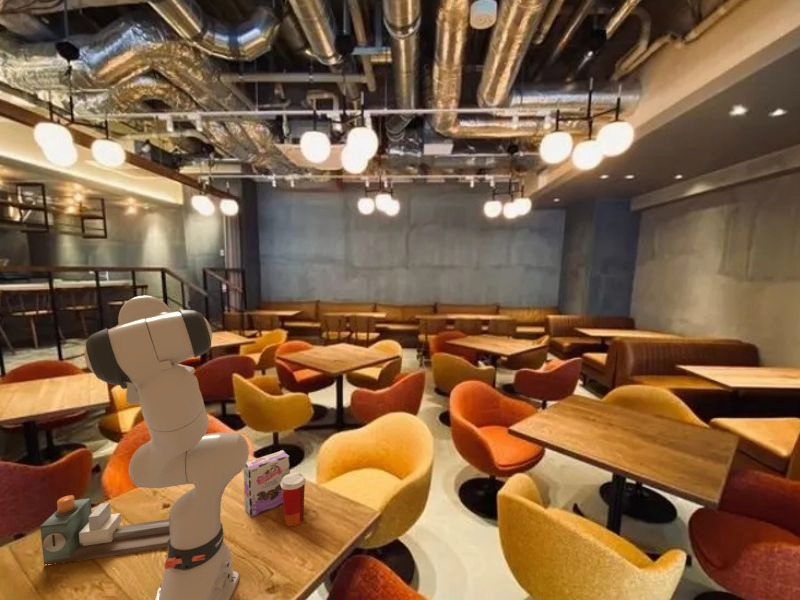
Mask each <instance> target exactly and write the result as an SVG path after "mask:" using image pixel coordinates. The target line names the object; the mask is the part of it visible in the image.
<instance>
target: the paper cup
mask: <svg viewBox="0 0 800 600" xmlns="http://www.w3.org/2000/svg"><path fill="white" fill-rule="evenodd" d="M306 482H307V481H306V478H305V475H303V474H302V473H300V472H292V473H291V472H290V474H288V475H286V476H284V477H283V479H282V481H281V484H280V486H281V488H282V496H283V504H282V505H283V515H284V516H283V517H284V521H285V525H286V526H288V527H296V526H298V525H301V523H303V521H304V516H305V515H304V513H305V489H306V488H305V487H306Z"/></svg>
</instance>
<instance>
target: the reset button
mask: <svg viewBox="0 0 800 600" xmlns="http://www.w3.org/2000/svg"><path fill="white" fill-rule="evenodd" d="M75 500H76V499H75V495H73V494H71V495H66V496H62V497H61V498H59V499H58V500H57V501H56V505H57V510H58V513H66V512H69V511H71V510H72V509H74V508H75Z"/></svg>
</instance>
